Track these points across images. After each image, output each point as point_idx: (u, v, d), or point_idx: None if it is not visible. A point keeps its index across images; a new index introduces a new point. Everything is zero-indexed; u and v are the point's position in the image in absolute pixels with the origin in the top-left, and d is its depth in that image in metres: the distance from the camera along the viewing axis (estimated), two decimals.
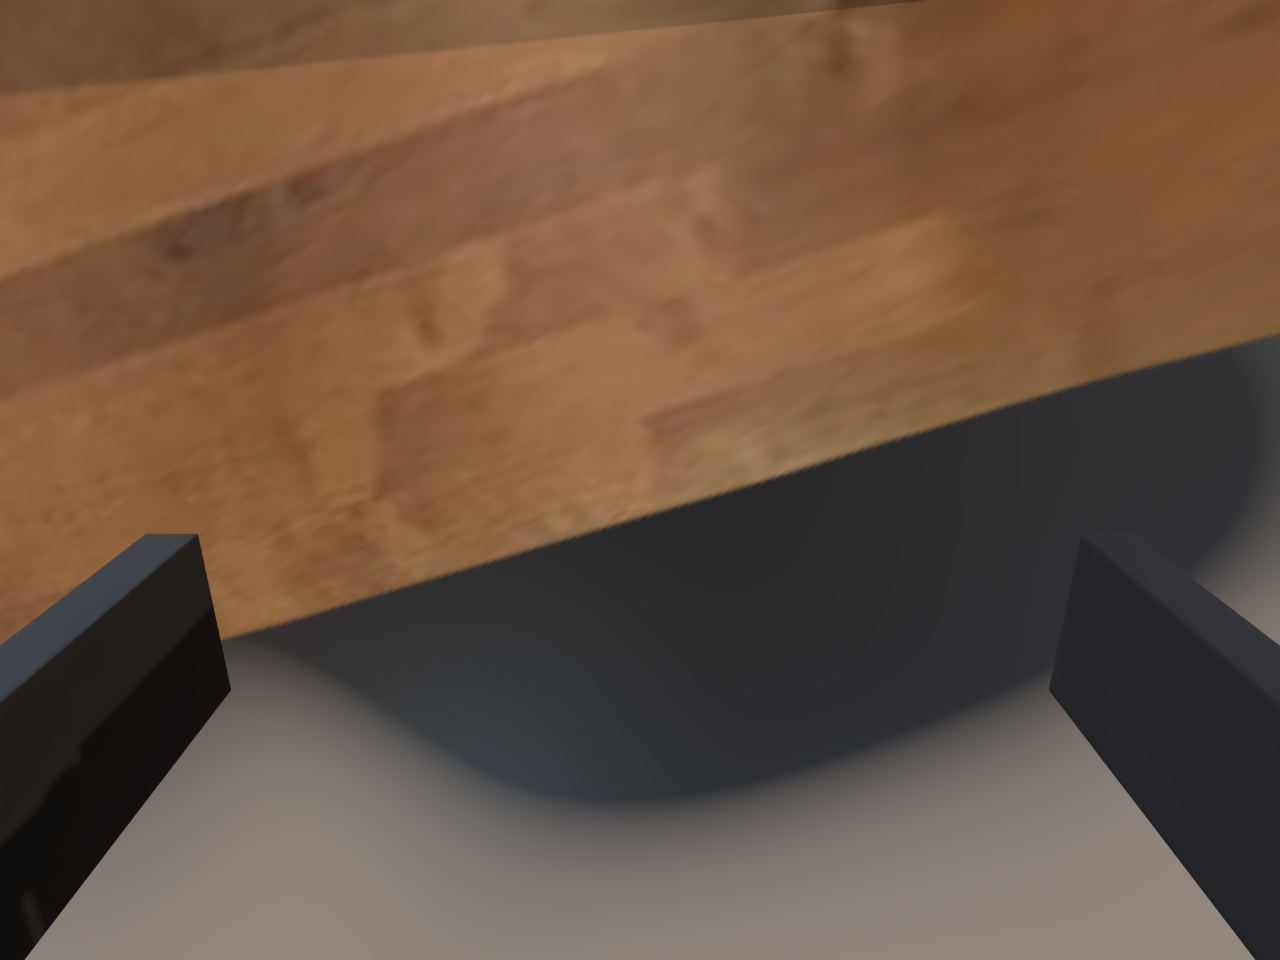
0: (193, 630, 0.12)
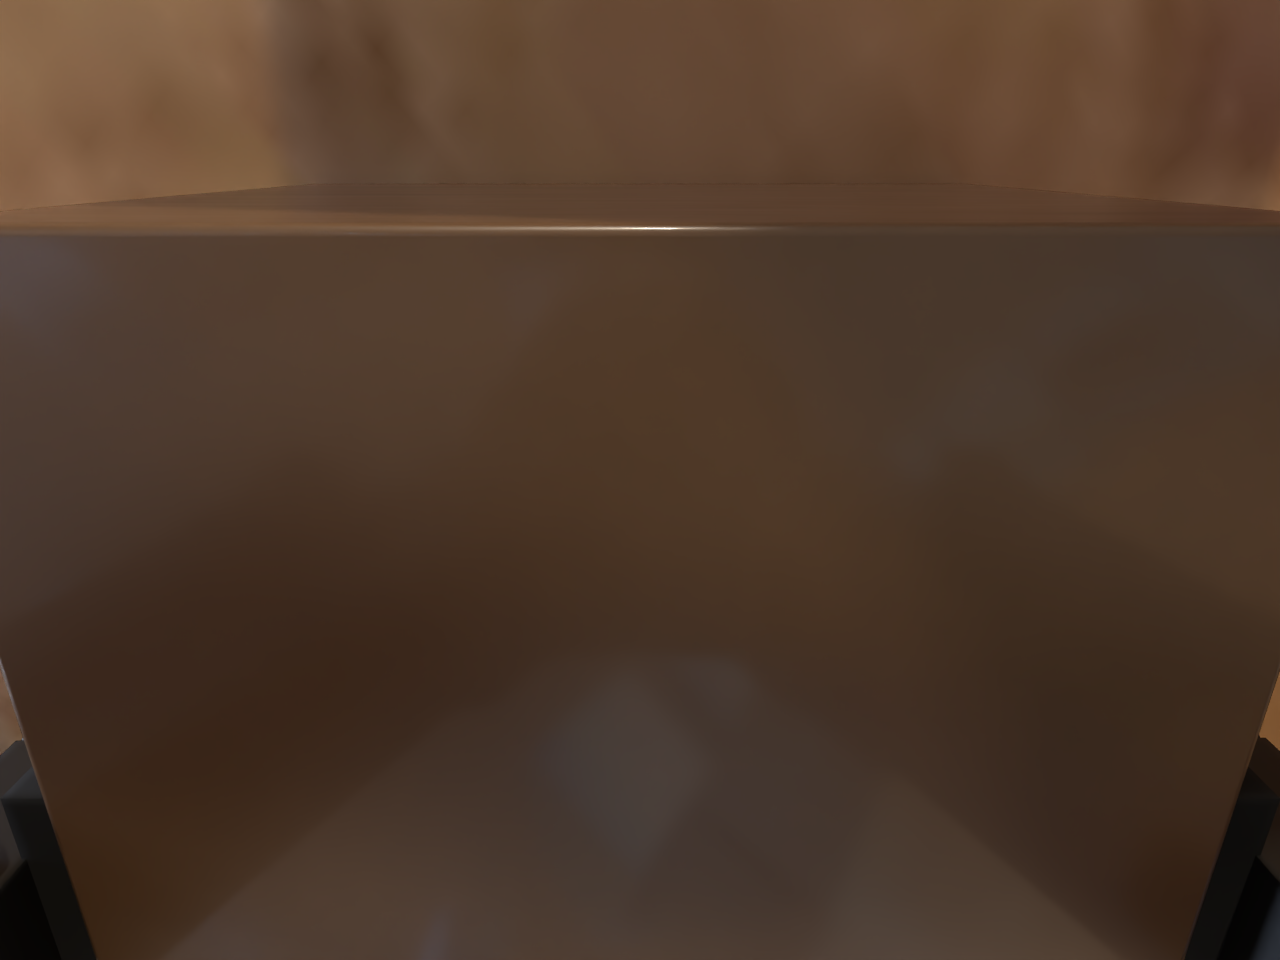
0: None
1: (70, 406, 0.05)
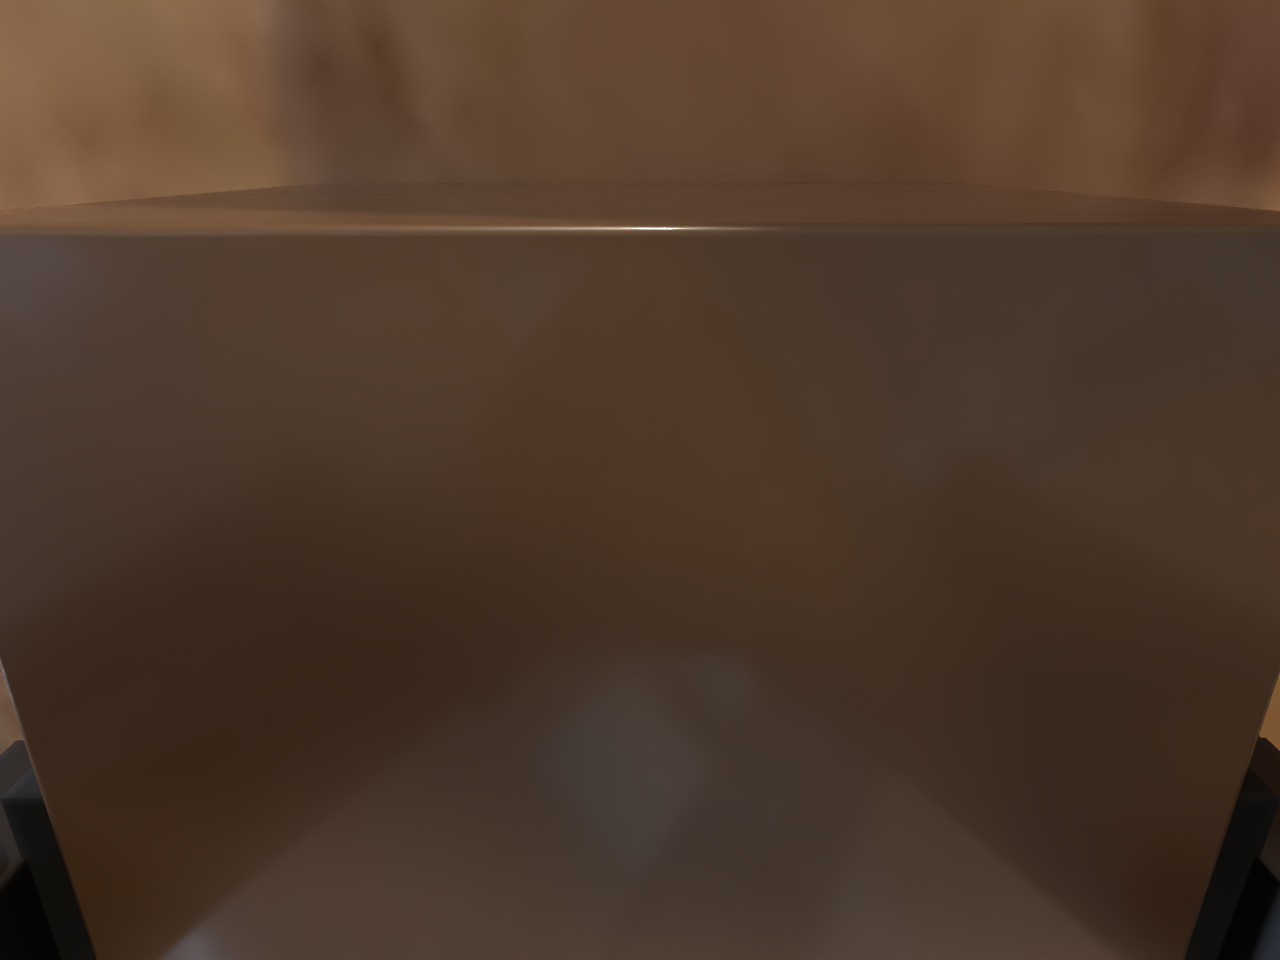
0: None
1: (69, 406, 0.05)
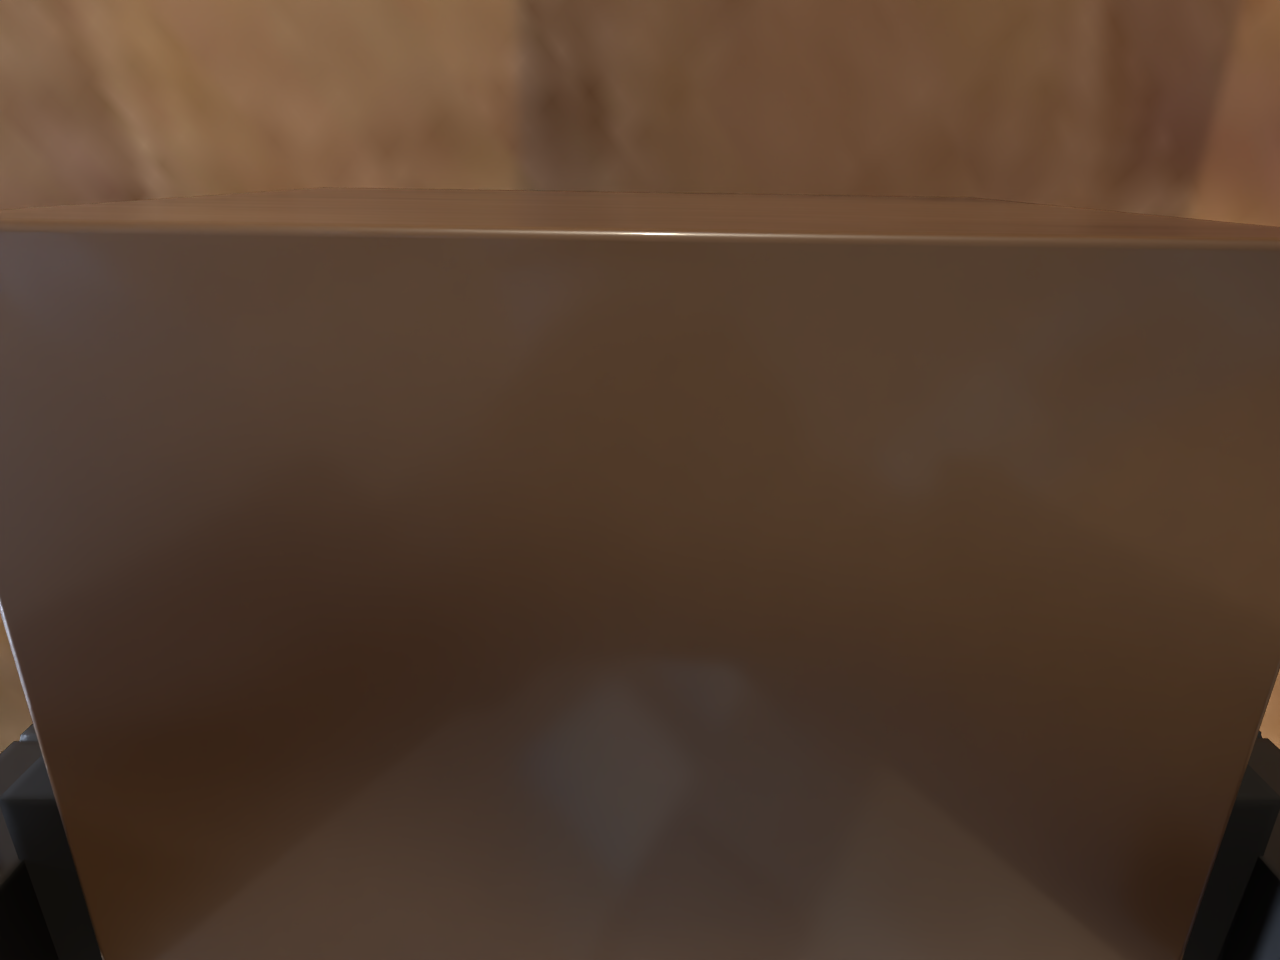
0: None
1: (92, 400, 0.05)
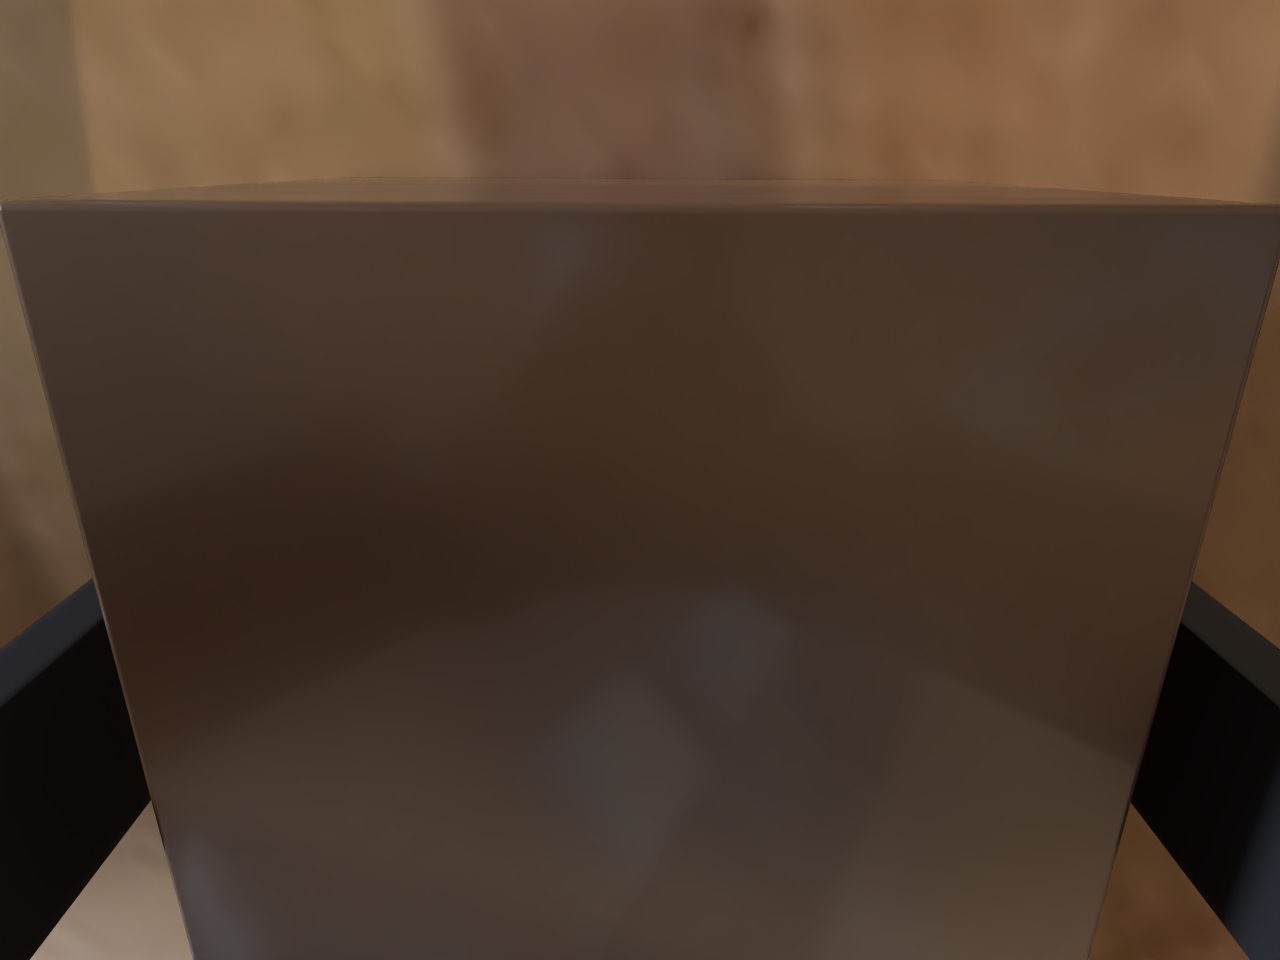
0: None
1: (166, 355, 0.06)
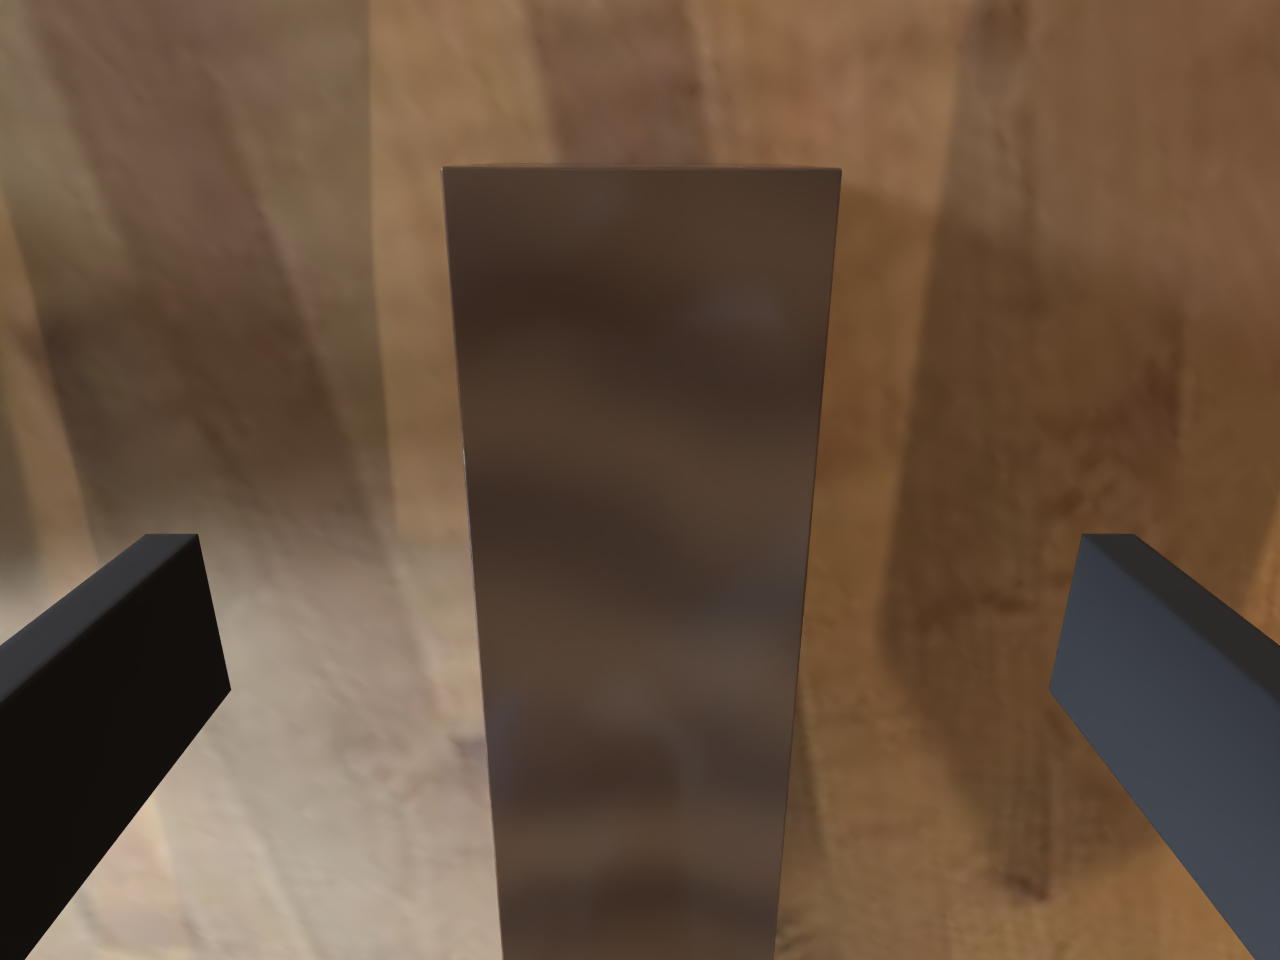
0: (193, 630, 0.12)
1: (487, 216, 0.20)
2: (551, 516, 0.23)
